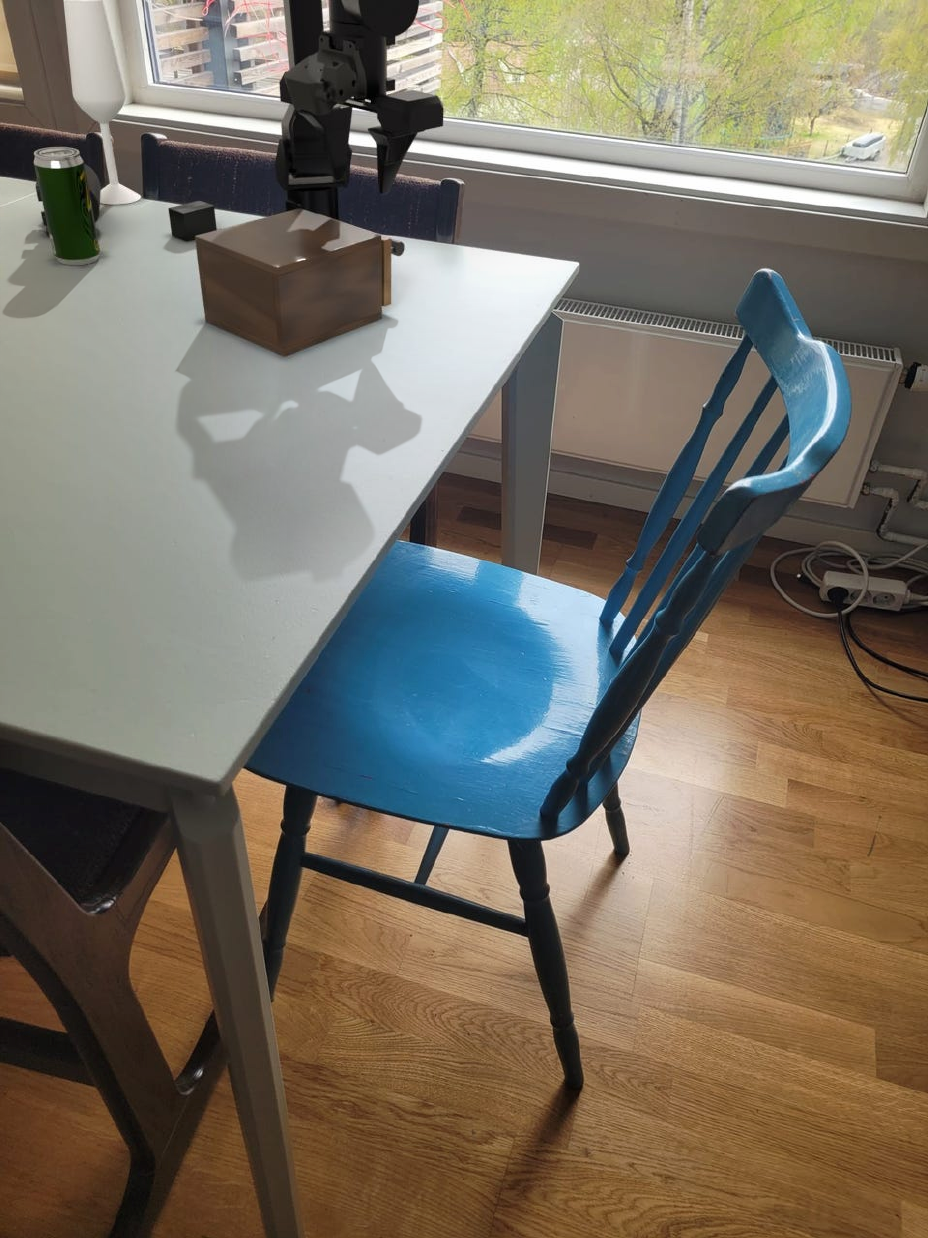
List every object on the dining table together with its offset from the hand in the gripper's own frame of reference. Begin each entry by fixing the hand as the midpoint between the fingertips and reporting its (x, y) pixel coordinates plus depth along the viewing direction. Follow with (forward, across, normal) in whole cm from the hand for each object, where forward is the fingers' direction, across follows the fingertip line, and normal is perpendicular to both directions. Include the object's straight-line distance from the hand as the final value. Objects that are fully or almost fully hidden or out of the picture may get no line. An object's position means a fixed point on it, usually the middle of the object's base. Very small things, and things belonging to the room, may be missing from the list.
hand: (360, 186), depth 105 cm
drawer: (+11, 0, -6) cm, 13 cm away
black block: (+12, -30, -1) cm, 32 cm away
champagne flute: (+12, -50, +1) cm, 51 cm away
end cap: (+12, -43, -10) cm, 46 cm away
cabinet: (+12, 0, -11) cm, 16 cm away
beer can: (+12, -32, -17) cm, 38 cm away
